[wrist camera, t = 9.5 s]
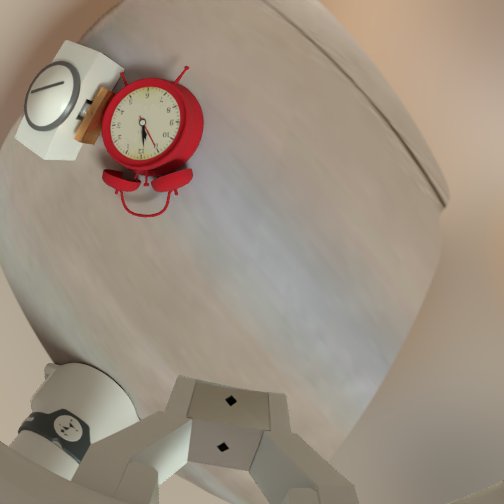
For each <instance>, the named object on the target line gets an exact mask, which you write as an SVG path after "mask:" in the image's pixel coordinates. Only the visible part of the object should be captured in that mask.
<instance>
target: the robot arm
mask: <svg viewBox="0 0 504 504" xmlns="http://www.w3.org/2000/svg"><path fill="white" fill-rule="evenodd" d="M30 402H31V408H32V413H31V414H30V415H29V417H28V418H26V419H25V420H24V422H23V423H22V425H21V427H20V428H19V430H18V436H17V437H16V438H15V439H14V441H13V442H12V443H11V444H10V446H9V447H8V446H7V445H5V444H4V443H2V442H1V441H0V504H159V490H158V489H159V488H158V486H159V485H160V484H161V483H163V482H164V481H165V480H166V479H168V478H169V477H170V476H171V475H172V474H174V473H175V472H176V471H177V470H179V469H180V468H181V467H182V466H183V465H185V464H186V463H187V461H190V462H196V463H202V464H208V465H214V466H220V467H226V468H232V469H238V470H245V471H249V473H250V475H251V476H252V478H253V479H254V481H255V482H256V484H257V485H258V487H259V488H260V490H261V491H262V493H263V494H264V495H265V497H266V498H267V500H268V501H269V503H270V504H359V501H358V498H357V494H356V491H355V487H354V485H353V484H352V483H351V482H349V481H348V480H347V479H346V478H345V477H344V476H342V475H341V474H340V473H339V472H338V471H337V470H335V469H334V468H333V467H332V466H331V465H330V464H329V463H328V462H327V461H326V460H324V459H323V458H322V457H321V456H320V455H319V454H318V453H317V452H316V451H315V450H314V449H313V448H311V447H310V446H309V445H308V444H307V443H306V442H305V441H304V440H303V439H302V438H301V437H300V436H299V435H298V434H295V433H292V432H291V425H290V418H289V411H288V404H287V397H286V395H285V394H283V393H273V392H261V391H254V390H247V389H241V388H235V387H230V386H225V385H221V384H216V383H211V382H207V381H202V380H198V379H197V380H196V379H193V378H189V377H185V376H181V375H179V376H178V378H177V380H176V383H175V385H174V388H173V391H172V393H171V396H170V399H169V401H168V404H167V407H166V410H165V412H162V411H158V412H156V413H154V414H152V415H150V416H148V417H146V418H144V419H142V420H139V418H138V417H137V414H136V412H135V409H134V406H133V404H132V402H131V400H130V399H129V397H128V396H127V394H126V393H125V392H124V391H123V390H122V388H121V387H120V386H119V385H118V384H117V383H115V382H114V381H113V380H112V379H111V378H109V377H108V376H107V375H105V374H104V373H102V372H100V371H99V370H97V369H95V368H93V367H90V366H88V365H85V364H81V363H68V364H65V365H57V364H51V363H49V364H47V366H46V367H45V381H44V383H43V384H42V385H41V386H40V388H39V389H38V390H37V391H36V393H35V394H34V395H33V397H32V398H31V400H30ZM446 504H504V480H503V481H501V482H499V483H497V484H495V485H492V486H490V487H488V488H486V489H483V490H481V491H479V492H476V493H474V494H471V495H469V496H466V497H463V498H461V499H458V500H455V501H452V502H449V503H446Z"/></svg>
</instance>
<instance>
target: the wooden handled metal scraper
mask: <svg viewBox="0 0 504 504" xmlns="http://www.w3.org/2000/svg"><path fill="white" fill-rule="evenodd" d="M115 95H116V94H115V93H113V92H111V91H109V90H107V89H105V88H103V87H101V89H100V91H99V92H98V94H97V96H96V98H95V99H94V101H93V103H92V105H91V104H89V103H87V102H85V103H84V105H83V106H82V108H81V110H80V112H79V114H78V115H80V116H82V117H83V118H84V119H83V121H82V123H81V125H80V127H79V129H78V131H77V133H76V135H75V137H74V139H75V140H76V141H78V142H80V143H86V144H93V145H94V144H95V142H96V140H97V138H98V136H99V135H100V133H101V131H102V122H103V118H104V114H105V111H106V109H107V107H108V105H109V103H110V102H111V100H112V99H113V98H114V96H115Z"/></svg>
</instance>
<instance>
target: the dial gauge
mask: <svg viewBox="0 0 504 504" xmlns="http://www.w3.org/2000/svg"><path fill="white" fill-rule="evenodd" d="M124 71H125V69H124V68H122V67H121V66H119V65H118V64H117V63H115V62H114V61H112V60H111V59H109V58H108V57H106V56H105V55H104V54H102V53H101V52H98V51H96V50H93V49H90V48H88V47H85V46H82V45H79V44H77V43H74V42H71V41H68V40H65V42H64V43H63V45H62V46H61V48H60V49H59V51H58V53H57V54H56V56H55V58H54V59H53V61H52V62H51V64H49V65H48V66H46V67H45V68H44V69H42V70H41V72H39V73H38V75H37V76H36V77H35V79H34V80H33V82H32V83H31V85H30V87H29V90H28V92H27V95H26V99H25V106H24V112H25V115H24V117H23V119H22V121H21V124H20V126H19V129H18V131H17V133H16V136H15V139H17V140H18V141H19V142H21V143H22V144H23V145H25V146H26V147H27V148H29V149H30V150H31V151H33V152H34V153H36V154H37V155H38V156H40V157H41V158H42V159H44V160H75V159H76V157H77V155H78V153H79V150H80V148H81V146H82V144H83V143H80V142H78V141H76V140H75V139H74V137H75V135H76V133H77V131H78V129H79V127H80V125H81V123H82V121H83V119H84V118H82V117H80V116H79V115H78V114H79V112H80V110H81V108H82V106H83V105H84V103H85V101H86V99H88V100H91V101H94V99H95V98H96V96H97V94H98V92H99V91H100V89H101V87H103V88H105V89H107V90H109V91H112V89H113V88H114V86H115V85H116V83H117V81H118V80H119V78H120V77H121V75H120V73H121V72H124Z"/></svg>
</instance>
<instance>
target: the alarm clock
mask: <svg viewBox="0 0 504 504" xmlns="http://www.w3.org/2000/svg"><path fill="white" fill-rule="evenodd" d="M184 68H185V69H184V71H183V72H182V73H181V74H180V76H179V77H178V78H177V79H176V81H175V82H169V81H166V80H163V79H158V78H146V79H141V80H137V81H135V82H132V83H130V84H129V85H128V84H127V81H126V80H125V77H124V72H121V73H120V75H121V76H122V78H123V81H124V84H125V87H124V88H123V89H121V90H120V91H119V92H118V93H117V94H116V95H115V96H114V98H113V99H112V100H111V102H110V103H109V105H108V107H107V109H106V111H105V114H104V118H103V122H102V137H103V142H104V145H105V147H106V149H107V151H108V153H109V154H110V155H111V157H112V158H113V159H114V160H115V161H116V162H118V163H119V164H121V165H122V166H124V167H126V168H128V169H129V170H131V171H133V172H135V173H136V176H135V178H134V181H133V182H130V181H126V180H123V179H122V172H119V171H115V170H108V169H105V170H104V171H103V175H102V178H103V181H104V182H105V183H106V184H107V185H109V186H110V187H113V188H115V189H116V191H115V194H118V190H119V191H120V192H121V200H122V203H123V206H124V208H125V209H126V210H127V211H128V212H129V213H130V214H132V215H135V216H139V217H154V216H158V215H160V214H162V213H163V212H164V211H165V210H166V209H167V207H168V204H169V199H170V194H171V192H172V191H173V190H174V192H175V195H178V192H177V189H178V188H180V187H182V186H184V185H186V184H188V183H189V182H190V181H191V180H192V177H193V172H192V169H184V170H180V171H177V172H174V173H171V174H168V175H165V176H162V177H160V178H159V177H158V176H159V175H164V174H167V173H170V172H172V171H174V170H176V169H177V168H179V167H181V166H182V165H183V164H184V163H185V162H187V161H188V159H189V158H190V157H191V156H192V155H193V153H194V152H195V150H196V149H197V147H198V145H199V143H200V140H201V137H202V133H203V125H204V120H203V113H202V110H201V107H200V104H199V102H198V101H197V99H196V98H195V96H194V95H193V94H192V93H191V92H190V91H189V90H188V89H186V88H185V87H183V86H182V85H179V84H177V83H178V82H179V80H180V79H181V77H182V75H183V74H184V73H185V71H186V70H188V69H189V67H188V66H185V67H184ZM137 174H140V175H145V176H146V178H145V183H144V186H149V183H147V177H148V176H157V179H155V180H153V181H151V185H152V187H153V189H154V190H155V191H158V192H167V191H169V192H168V197H167V202H166V205H165V207H164V209H163V210H162V211H160V212H159V213H156V214H151V215H142V214H137V213H134V212H132V211H130V210H129V209H128V208H127V206H126V205H125V202H124V198H123V192H122V191H126V192H131V191H135V190H136V189H138V188H139V186H140V184H141V181H140V180H139V179H137V181H136V182H135V179H136V177H137Z"/></svg>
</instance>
